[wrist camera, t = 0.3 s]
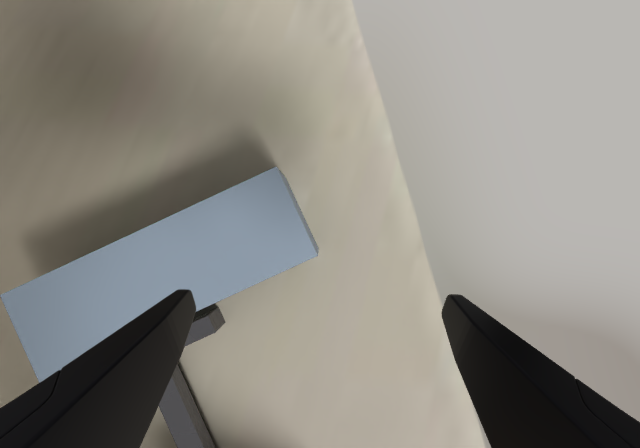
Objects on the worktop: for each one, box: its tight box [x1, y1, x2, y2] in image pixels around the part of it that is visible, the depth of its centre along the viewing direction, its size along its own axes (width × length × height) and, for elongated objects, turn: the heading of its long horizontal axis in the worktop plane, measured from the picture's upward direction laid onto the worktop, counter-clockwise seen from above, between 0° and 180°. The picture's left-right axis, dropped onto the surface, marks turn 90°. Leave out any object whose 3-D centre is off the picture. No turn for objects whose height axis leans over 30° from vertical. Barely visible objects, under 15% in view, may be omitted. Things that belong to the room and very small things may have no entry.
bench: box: [0, 167, 319, 383], centre depth 21 cm, size 7×22×5 cm, turn 115°
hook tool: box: [159, 307, 225, 448], centre depth 20 cm, size 16×7×7 cm, turn 25°
